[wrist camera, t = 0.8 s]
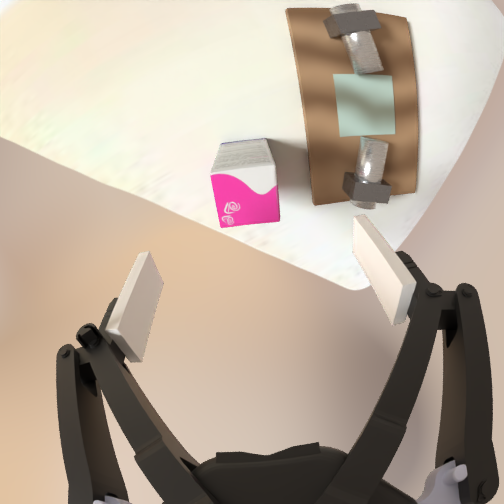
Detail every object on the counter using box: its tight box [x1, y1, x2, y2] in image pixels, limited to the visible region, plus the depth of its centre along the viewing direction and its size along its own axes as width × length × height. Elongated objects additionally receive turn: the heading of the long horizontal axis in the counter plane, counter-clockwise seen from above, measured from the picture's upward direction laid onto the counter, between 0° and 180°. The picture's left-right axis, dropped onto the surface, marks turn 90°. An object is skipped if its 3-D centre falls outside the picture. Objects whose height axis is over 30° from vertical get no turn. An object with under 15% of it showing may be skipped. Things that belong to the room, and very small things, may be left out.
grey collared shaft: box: [323, 4, 384, 74], centre depth 21 cm, size 9×5×4 cm, turn 22°
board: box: [285, 8, 418, 206], centre depth 28 cm, size 26×16×1 cm, turn 10°
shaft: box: [342, 136, 392, 209], centre depth 31 cm, size 9×5×4 cm, turn 178°
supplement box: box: [210, 138, 280, 228], centre depth 28 cm, size 6×6×12 cm
